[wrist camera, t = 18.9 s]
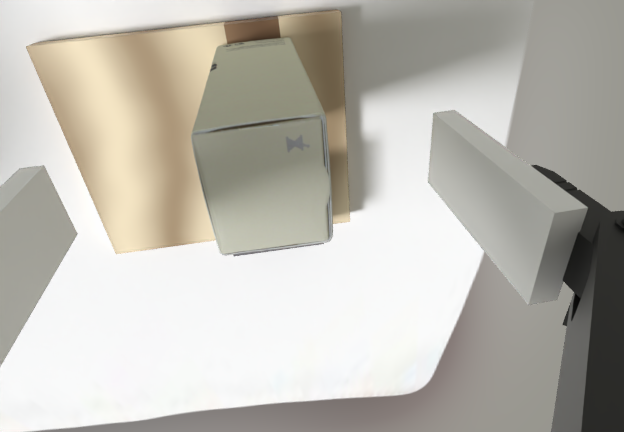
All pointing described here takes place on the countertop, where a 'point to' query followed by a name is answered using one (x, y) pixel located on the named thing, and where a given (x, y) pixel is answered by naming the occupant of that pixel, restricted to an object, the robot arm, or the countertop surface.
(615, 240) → the robot arm
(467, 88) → the countertop surface
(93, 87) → the board
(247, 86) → the box
